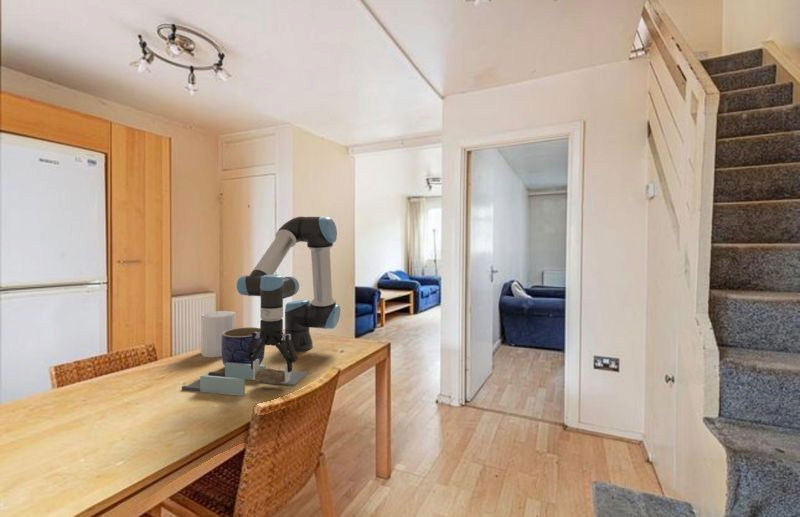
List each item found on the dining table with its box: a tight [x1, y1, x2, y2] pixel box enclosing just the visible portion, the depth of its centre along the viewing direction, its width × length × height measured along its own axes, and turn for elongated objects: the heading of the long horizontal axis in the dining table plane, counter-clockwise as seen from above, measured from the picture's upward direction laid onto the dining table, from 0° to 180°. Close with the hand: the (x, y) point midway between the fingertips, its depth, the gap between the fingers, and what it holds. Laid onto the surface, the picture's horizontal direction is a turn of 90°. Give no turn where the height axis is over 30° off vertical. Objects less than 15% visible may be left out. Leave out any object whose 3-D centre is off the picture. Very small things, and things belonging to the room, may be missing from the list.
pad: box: [261, 368, 310, 387], centre depth 143 cm, size 13×13×1 cm
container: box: [200, 310, 237, 358], centre depth 172 cm, size 14×14×18 cm
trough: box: [181, 362, 267, 397], centre depth 134 cm, size 15×23×6 cm, turn 81°
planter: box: [221, 326, 266, 367], centre depth 153 cm, size 17×17×15 cm
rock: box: [256, 368, 285, 385], centre depth 133 cm, size 8×11×4 cm
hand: (271, 379), depth 132 cm, fingers closed on rock, 11 cm apart
